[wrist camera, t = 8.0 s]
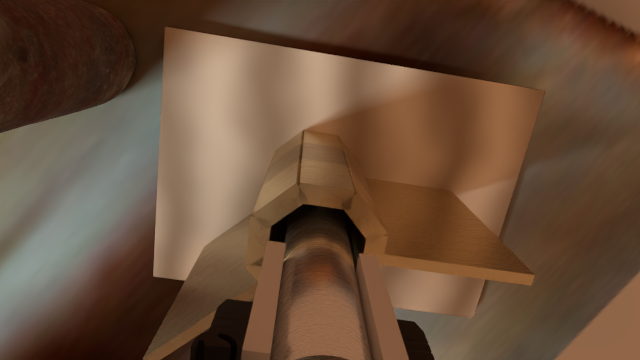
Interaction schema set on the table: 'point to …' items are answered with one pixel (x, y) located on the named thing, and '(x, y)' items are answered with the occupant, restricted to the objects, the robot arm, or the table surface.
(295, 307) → the hinge pin
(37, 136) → the table surface
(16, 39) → the candle
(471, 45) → the table surface
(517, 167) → the board
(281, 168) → the hinge
